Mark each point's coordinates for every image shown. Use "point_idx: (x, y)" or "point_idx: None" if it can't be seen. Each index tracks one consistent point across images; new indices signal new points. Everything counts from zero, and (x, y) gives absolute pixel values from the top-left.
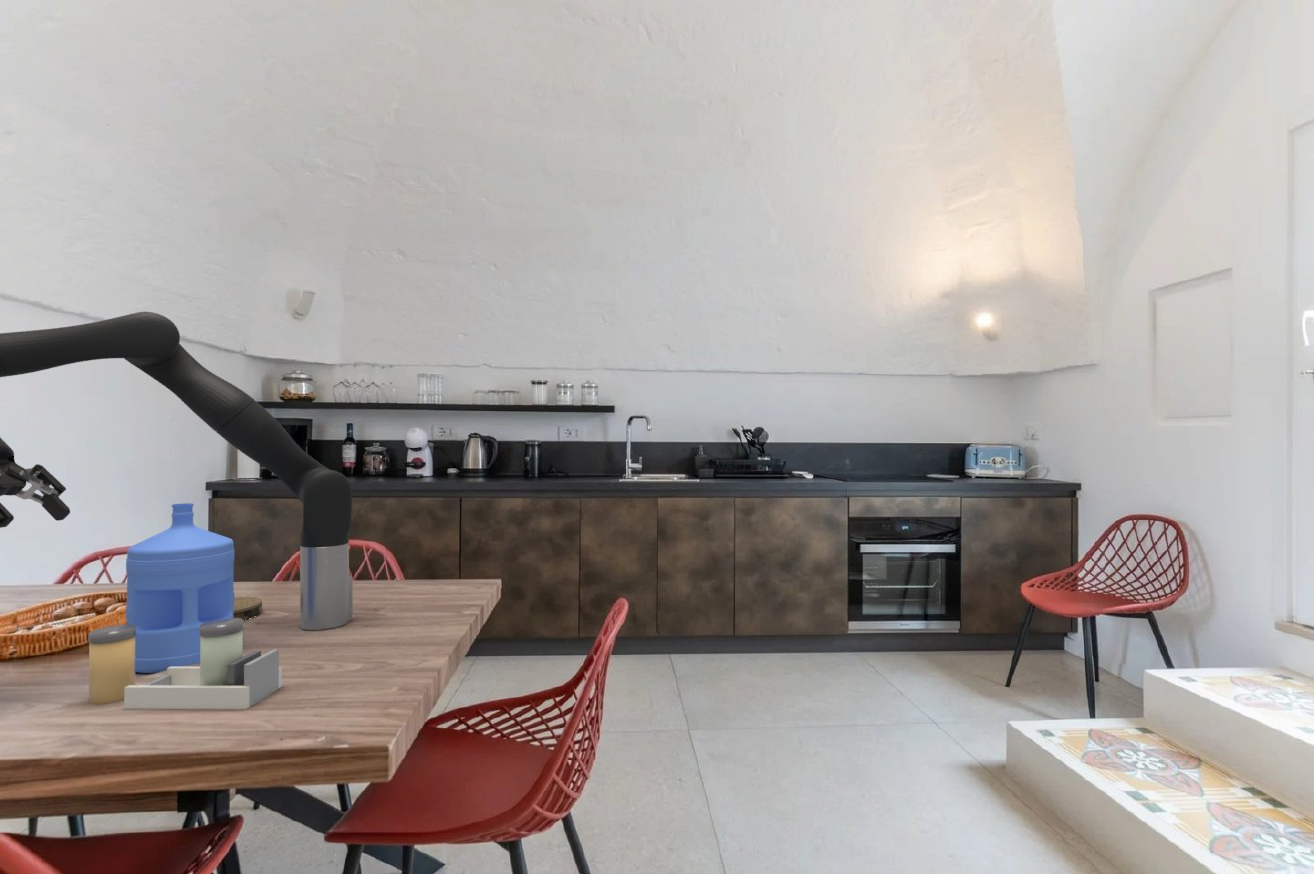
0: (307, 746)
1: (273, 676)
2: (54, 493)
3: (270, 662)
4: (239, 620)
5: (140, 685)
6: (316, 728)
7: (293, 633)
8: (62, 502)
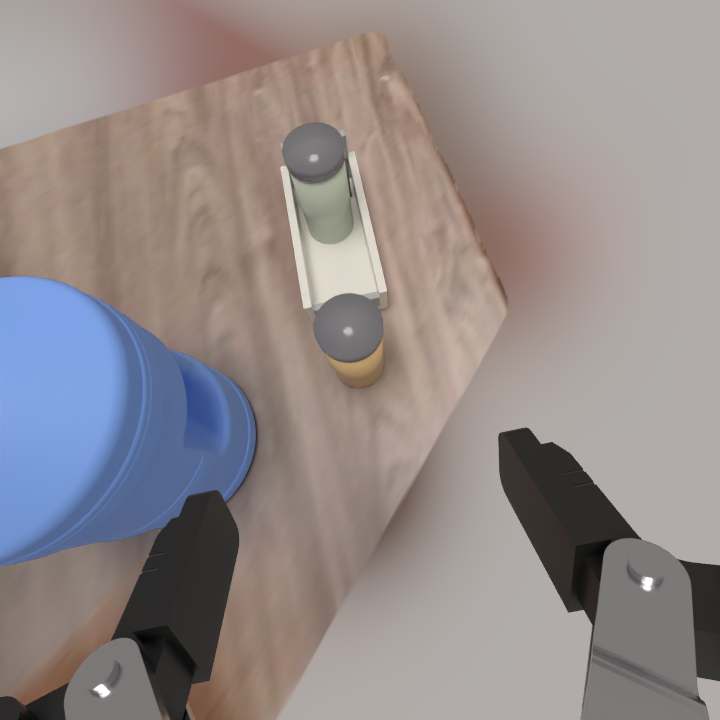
0: (402, 78)
1: None
2: (125, 644)
3: None
4: (294, 135)
5: (376, 277)
6: (367, 95)
7: None
8: (163, 555)
